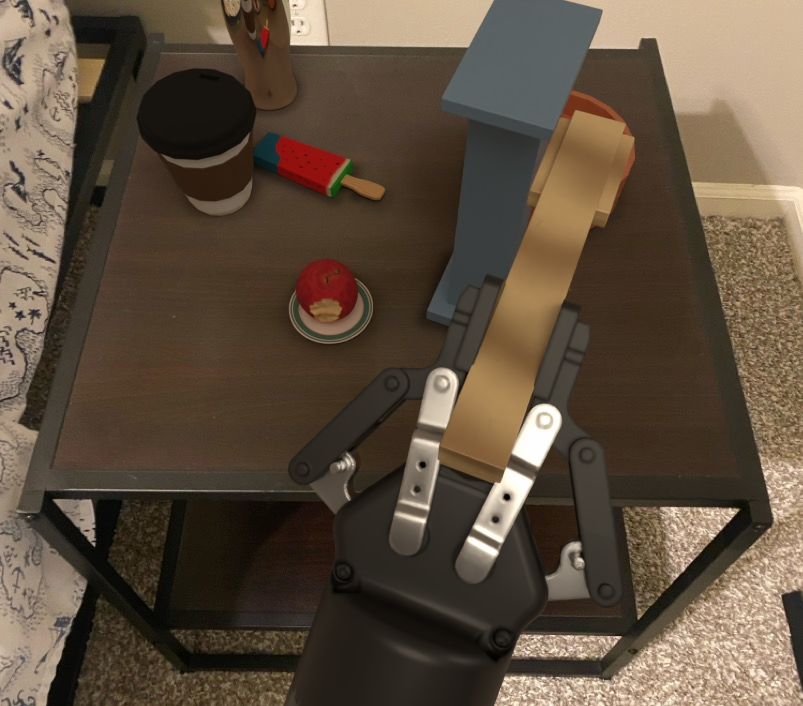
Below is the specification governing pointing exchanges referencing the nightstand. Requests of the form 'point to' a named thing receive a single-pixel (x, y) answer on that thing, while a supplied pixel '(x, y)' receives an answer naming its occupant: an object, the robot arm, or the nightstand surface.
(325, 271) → the apple
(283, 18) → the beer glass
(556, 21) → the stand
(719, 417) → the nightstand surface
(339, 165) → the popsicle
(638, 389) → the nightstand surface
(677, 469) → the nightstand surface
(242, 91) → the coffee cup
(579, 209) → the stick
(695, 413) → the nightstand surface
